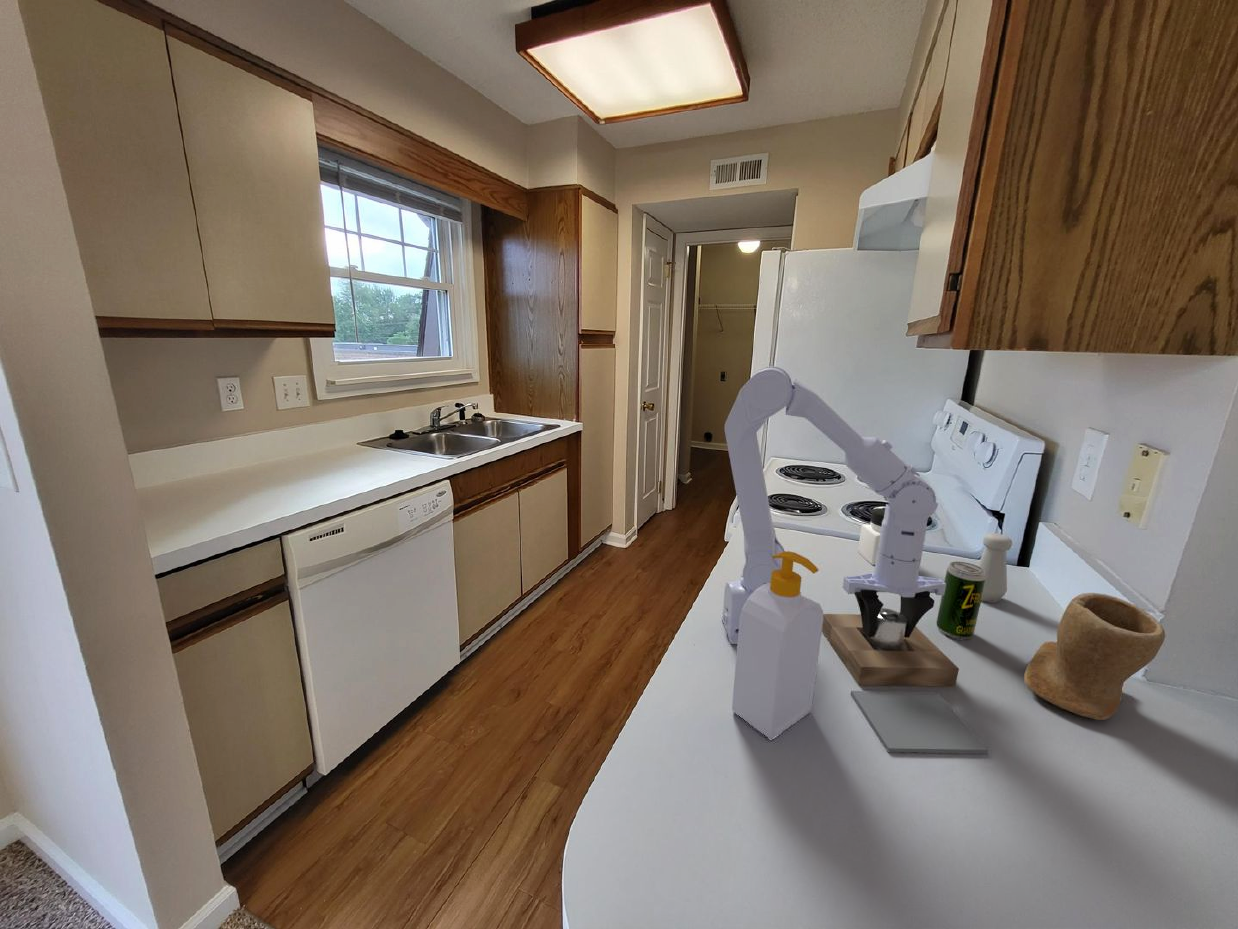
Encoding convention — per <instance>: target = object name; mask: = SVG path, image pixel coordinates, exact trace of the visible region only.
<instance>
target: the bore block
mask: <svg viewBox="0 0 1238 929" xmlns="http://www.w3.org/2000/svg"><path fill="white" fill-rule="evenodd" d="M822 632H823V633H822V634H823V636H824V637H825V638H827V639H826V640H827V642H828V643H829V644H830V645H831V647H832V649H833V650H834V652H835V653H836V654H837V656H838V657H839V659H840V661H841V662H842V663H843V665H844V667H845V668H846V669H847V671H848V672H849V674H850V675H851V677H852V678H853V680H854V681H855V682H856V684H857V685H858V686H896V687H897V686H906V687H907V686H908V687H909V686H910V687H956V685H957V680H958V675H959V672H960V671H959V670H960V668H959V667H958V666H957V665H956V664H955V663H954V662H953V661H952V660H951V659H950V658H949V657H948V656H947V655H946V654H945V653H943V652H942V650H940V649H939V647H938V646H937V645H936V644H934V642H933V641H932V640H930V639H929V637H927V636H926V635H925V633H923V631H922V630H920V629H919V627H917V625H916V626H915V628H914V629H913V631H912V633H911V635H910V637H909V638H905V637H904V641H903V646H902V651H875V650H874V649H873V648H872V647H871V645H870V644H869V643H868V642H867V640H866V637H867V635H866V634H865V632H864V631H863V628H862V618H861V614H857V613H856V614H852V613H850V614H848V613H846V614H843V613H823V625H822Z"/></svg>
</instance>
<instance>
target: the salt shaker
mask: <svg viewBox="0 0 1238 929" xmlns="http://www.w3.org/2000/svg"><path fill="white" fill-rule="evenodd" d="M982 544H983V546H985V548H984V551H983V552H982V555H981V557H980V560H979V562H978V564H977V566H979V567H981V568H983V569H984V570H985V577H986V581H985V585H984V590H983V594H982V599H981V602H983V603H984V602H985V603H990V604H991V603H992V604H995V603H997V602H999V601H1000V600H1001V599H1002V598H1003V597H1004V596H1005V595H1006V593H1007V590H1008V583H1007V582H1008V581H1007V580H1008V579H1007V578H1008V576H1007V570H1008V569H1007V562H1008V561H1007V551H1010V550H1011V548H1012V545H1013V540H1012V539H1011V538H1010V537H1009V536H1007V535H1004V534H1001V533H995V532H989V533H986V534H985V535H984V537H983V540H982Z"/></svg>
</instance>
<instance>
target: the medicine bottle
mask: <svg viewBox="0 0 1238 929" xmlns="http://www.w3.org/2000/svg"><path fill="white" fill-rule="evenodd" d="M885 508H886V506H878V507H874V508H873V509H872V510H871V517H870V524H868V523H866V524H865V523H864V524H861V528H860V534H859V541H858V547H857V553H859V554H860V555H861V556H862V557H863V558H864V559H865V560H866V561H867V562H868V563H869V564H870V565H872V566H875V564H876V558H877V552H878V546H879V539H880V533H881V527H882V521H883V519H884V514H885Z"/></svg>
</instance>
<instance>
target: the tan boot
mask: <svg viewBox="0 0 1238 929" xmlns="http://www.w3.org/2000/svg"><path fill="white" fill-rule="evenodd" d="M1165 638H1166V630H1165V629H1164V627H1163V626H1162V624H1161V623H1160V622H1159V621H1158V620H1157V618H1155V617H1154V616H1153V615H1151V614H1149V613H1148V612H1147V611H1146V610H1144V609H1142V608H1140V607H1138V606H1137V605H1135V604H1133V603H1131V602H1129V601H1127V600H1124V599H1123V598H1122V599H1121V598H1119V597H1116V596H1112V595H1109V594H1105V593H1097V592H1085V593H1080V594H1078V595H1077V596H1075V597H1073V598H1072V599H1071V601H1069V603H1068V605H1067V607H1066V608H1065V610H1064V612H1063V614H1062V617H1061V619H1060V622H1059V624H1058V626H1057V630H1056V641H1045V642H1043V643H1042V644H1041V645H1040V646H1039V648H1038V649H1037V650H1036V651H1035V653H1034V655H1033V657H1032V658H1031V660H1030V662H1028V665H1027V666H1026V669H1025V672H1024V674H1023V680H1024V684H1025V686H1026V687H1027V688H1028V689H1029V690H1030V691H1032V693H1034V694H1035V695H1036V696H1037V697H1039V698H1041V699H1043V700H1045V701H1047V702H1048V703H1051V704H1052V705H1053V706H1056V707H1059V708H1060V709H1063V710H1065V711H1067V712H1071V713H1073V714H1076V715H1079V716H1082V717H1085V718H1090V719H1094V720H1095V721H1096V720H1097V721H1106V720H1108V719H1110V718H1112V716H1114V714H1116V713H1117V711H1118V709H1119V707H1120V705H1121V700H1122V695H1123V687H1124V683H1125V682H1126V681H1127V680H1128V679H1130V678H1131V677H1132V676H1133V675H1135V674H1136V673H1138V672H1140V670H1142V669H1143V668H1145V667H1146V666H1147V665H1149V664H1150V663H1151V662H1152V661H1153V660H1154V659H1155V657H1156V656H1157V655H1158V653H1159V651H1160V649H1161V647H1162V646H1163V644H1164V641H1165Z"/></svg>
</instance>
